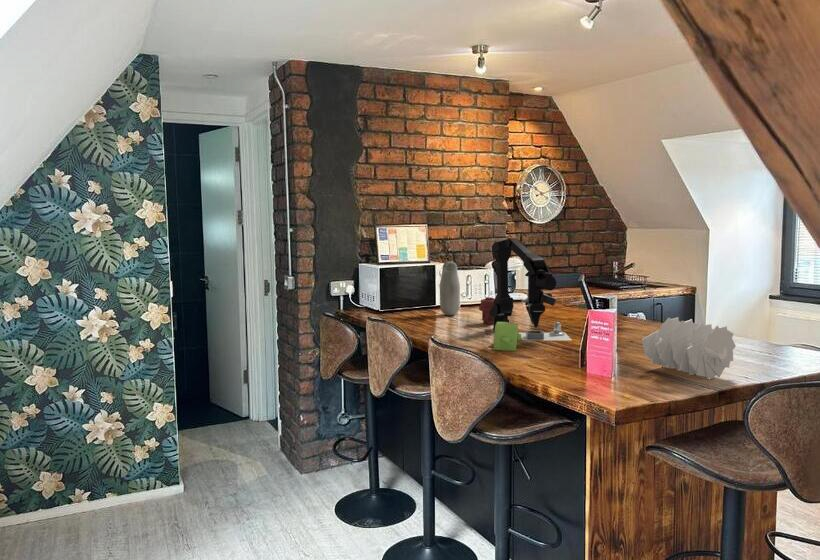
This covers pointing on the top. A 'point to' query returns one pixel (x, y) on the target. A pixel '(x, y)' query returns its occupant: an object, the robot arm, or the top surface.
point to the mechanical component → (487, 310)
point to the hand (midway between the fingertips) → (534, 325)
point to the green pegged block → (506, 336)
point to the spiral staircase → (690, 347)
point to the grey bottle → (449, 289)
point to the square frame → (534, 335)
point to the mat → (550, 337)
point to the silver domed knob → (557, 330)
